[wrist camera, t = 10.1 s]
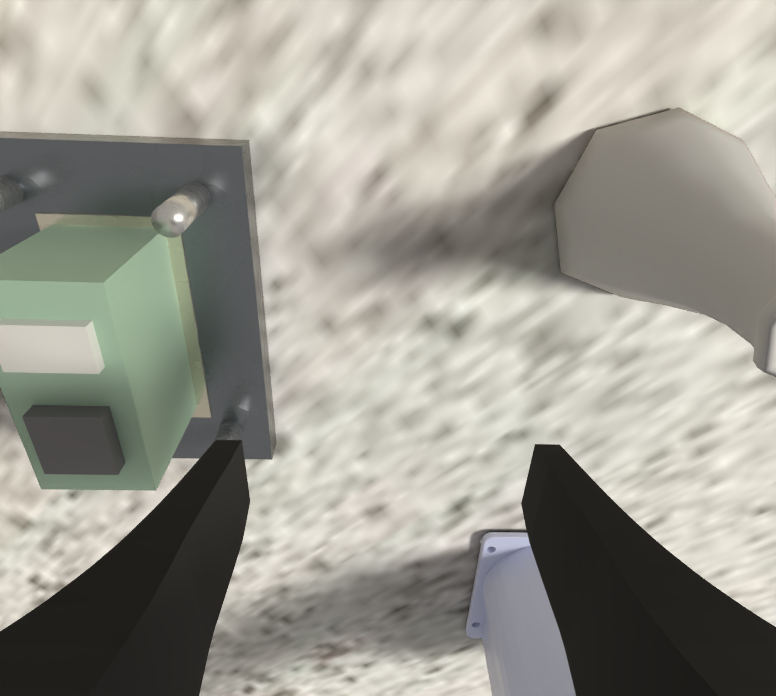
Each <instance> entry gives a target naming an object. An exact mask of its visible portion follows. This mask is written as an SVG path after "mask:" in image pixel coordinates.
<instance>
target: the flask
mask: <svg viewBox="0 0 776 696" xmlns="http://www.w3.org/2000/svg"><path fill="white" fill-rule="evenodd" d="M554 208H555V218H556V228H557V238H558V248H559V258H560V268H561V273H563V274H566V275H568V276H571V277H573V278H576V279H578V280H581V281H583V282H586V283H588V284H591V285H593V286H596V287H598V288H600V289H603V290H605V291H608V292H610V293H613V294H615V295H618V296H621V297H625V298H629V299H634V300H639V301H645V302H651V303H656V304H662V305H667V306H671V307H675V308H679V309H683V310H687V311H691V312H695V313H700V314H704V315H707V316H709V317H711V318H713V319H715V320H717V321H719V322H722V323H724V324H726V325H727V326H728V327H730V328H731V329H732V330H733V331H735V332H736V333H737V334H739V335H740V336H741V337H742V338H744V339H745V340H746V341H748V342H749V343H750V344H751V345H752V346H753V347H754V356H753V361H754V363H755V364H756V366H757V367H758V368H759V369H760V370H762V371H763V372H765V373H768V374H770V375H773V376H775V377H776V195H775V194H774V192H773V191H772V189H771V188H770V186H769V185H768V183H767V181H766V179H765V177H764V176H763V174H762V172H761V170H760V168H759V166H758V164H757V163H756V161H755V159H754V157H753V155H752V153H751V151H750V150H749V148H748V147H747V145H746V144H745V142H744V141H743V140H742V139H740V138H738V137H736V136H734V135H732V134H730V133H728V132H726V131H724V130H722V129H720V128H718V127H716V126H714V125H712V124H710V123H708V122H706V121H705V120H703V119H701V118H699V117H697V116H695V115H693V114H691V113H689V112H687V111H685V110H683V109H681V108H675V109H672V110H668V111H664V112H661V113H657V114H653V115H649V116H646V117H642V118H638V119H635V120H631V121H627V122H624V123H620V124H616V125H613V126H609V127H605V128H601V129H598V130H596V131H595V133H594V135H593V136H592V138H591V140H590V142H589V144H588V145H587V147H586V149H585V151H584V152H583V154H582V156H581V158H580V160H579V161H578V163H577V165H576V167H575V168H574V170H573V172H572V174H571V176H570V177H569V179H568V181H567V183H566V184H565V186H564V188H563V190H562V192H561V193H560V195H559V197H558V199H557V200H556V202H555V204H554Z"/></svg>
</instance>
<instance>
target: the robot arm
mask: <svg viewBox="0 0 776 696" xmlns="http://www.w3.org/2000/svg"><path fill="white" fill-rule="evenodd" d="M249 504H250V497H249V490H248V482H247V475H246V467H245V459H244V452H243V444H242V440H216V441H215V442H214V443H212V445H211V446H210V447H209V448H208V449H207V451H206V452H205V453H204V454H203V455H202V456H201V458H200V459H199V460H198V461H197V462H196V464H195V465H194V466H193V467H192V468H191V469H190V470H189V472H188V473H187V474H186V475H185V476H184V477H183V478H182V480H181V481H180V482H179V483H178V484H177V485H176V486H175V487H174V488H173V489H172V490H171V492H170V493H169V494H168V495H167V496H166V497H165V498H164V499H163V500H162V501H161V502H160V503H159V504H158V505H157V506H156V507H155V509H154V510H152V511H151V512H150V513H149V514H148V515H147V516H146V517H145V518H144V519H143V520H142V521H141V522H140V523H139V524H138V525H137V526H136V527H135V528H134V529H133V530H132V531H131V532H130V533H129V534H128V535H127V536H126V537H125V538H124V539H122V540H121V541H120V542H119V543H118V544H117V545H116V546H115V547H114V548H112V549H111V550H110V551H109V552H108V553H107V554H105V555H104V556H103V557H102V558H101V559H100V560H98V561H97V562H96V563H95V564H94V565H92V566H91V567H90V568H89V569H87V570H86V571H85V572H84V573H82V574H81V575H80V576H79V577H77V578H76V579H75V580H73V581H72V582H71V583H69V584H68V585H67V586H65V587H64V588H63V589H61V590H60V591H59V592H57V593H56V594H55V595H53V596H52V597H51V598H49V599H48V600H47V601H45V602H44V603H42V604H41V605H40V606H38V607H37V608H35V609H34V610H32V611H31V612H29V613H28V614H26V615H25V616H23V617H22V618H20V619H19V620H17V621H16V622H14V623H13V624H11V625H10V626H8V627H7V628H5V629H3V630H2V631H0V696H199V693H200V688H201V684H202V679H203V675H204V670H205V665H206V661H207V656H208V652H209V648H210V644H211V640H212V637H213V633H214V629H215V626H216V623H217V620H218V617H219V614H220V610H221V607H222V604H223V601H224V598H225V595H226V592H227V588H228V585H229V582H230V579H231V576H232V573H233V570H234V566H235V563H236V560H237V557H238V554H239V550H240V547H241V544H242V540H243V536H244V531H245V526H246V520H247V515H248V509H249ZM521 504H522V509H523V514H524V519H525V524H526V529H527V533H525V532H490V533H487V534H485V535H484V536H483V538H482V543H481V548H480V554H479V559H478V564H477V570H476V575H475V581H474V586H473V591H472V597H471V602H470V607H469V613H468V618H467V623H466V635H467V637H469V638H473V639H482V640H483V646H484V651H485V657H486V663H487V668H488V674H489V679H490V685H491V690H492V696H776V627H775V626H773V625H772V624H770V623H768V622H767V621H765V620H763V619H762V618H760V617H759V616H757V615H756V614H754V613H753V612H751V611H750V610H748V609H746V608H745V607H743V606H742V605H740V604H739V603H738V602H736V601H735V600H733V599H732V598H730V597H729V596H727V595H726V594H725V593H723V592H722V591H720V590H719V589H717V588H716V587H714V586H713V585H712V584H710V583H709V582H708V581H706V580H705V579H703V578H702V577H701V576H699V575H698V574H697V573H695V572H694V571H693V570H692V569H690V568H689V567H688V566H687V565H685V564H684V563H683V562H681V561H680V560H679V559H678V558H676V557H675V556H674V555H673V554H671V553H670V552H669V551H668V550H666V549H665V548H664V547H663V546H662V545H661V544H659V543H658V542H657V541H656V540H655V539H654V538H652V537H651V536H650V535H649V534H648V533H647V532H646V531H645V530H644V529H642V528H641V527H640V526H639V525H638V524H637V523H636V522H635V521H634V520H633V519H631V518H630V517H629V516H628V515H627V514H626V513H625V512H624V511H623V510H622V509H621V508H620V507H619V506H618V505H617V504H616V503H615V502H614V501H613V500H612V499H611V498H610V497H609V496H608V495H607V494H606V493H605V492H604V491H603V490H602V489H601V488H600V487H599V486H598V485H597V484H596V483H595V482H594V481H593V480H592V479H591V478H590V476H589V475H588V474H587V473H586V472H585V471H584V470H583V469H582V468H581V467H580V466H579V465H578V464H577V463H576V462H575V461H574V459H573V458H572V457H571V456H570V455H569V454H568V453H567V452H566V451H565V450H564V449H563V448H562V447H561V446H560V445H545V444H535V447H534V451H533V456H532V460H531V464H530V469H529V473H528V477H527V482H526V486H525V490H524V495H523V499H522V503H521Z"/></svg>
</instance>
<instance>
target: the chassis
mask: <svg viewBox="0 0 776 696" xmlns="http://www.w3.org/2000/svg"><path fill="white" fill-rule="evenodd" d="M50 225H84V226H119V227H153V228H154V229H155V230H156V231H157V232H158V233H159V234H160V235H162V236H164V237H167V243H168V248H169V254H170V259H171V265H172V270H173V276H174V281H175V287H176V292H177V298H178V304H179V309H180V315H181V320H182V326H183V331H184V337H185V342H186V348H187V354H188V359H189V365H190V370H191V376H192V381H193V387H194V392H195V398H196V403H197V407H196V409H195V411H194V413H193V416H192V418H191V420H190V422H189V424H188V426H187V428H186V430H185V432H184V434H183V436H182V438H181V440H180V442H179V444H178V446H177V448H176V451H175V453H174V455H173V457H172V458H201V456H202V455H203V454H204V453H205V452H206V451H207V449H208V448H209V447H210V446H211V445H212V443H214V442H215V441H216V440H242V444H243V452H244V459H272V458H273V454H274V450H275V446H276V434H275V423H274V412H273V401H272V390H271V379H270V368H269V357H268V346H267V335H266V324H265V313H264V302H263V291H262V280H261V269H260V258H259V247H258V236H257V225H256V214H255V203H254V192H253V181H252V170H251V159H250V148H249V140H225V139H196V138H168V137H139V136H111V135H83V134H54V133H26V132H0V254H1V253H3V252H5V251H6V250H8V249H10V248H12V247H13V246H15V245H17V244H19V243H20V242H22V241H24V240H26V239H27V238H29V237H31V236H33V235H34V234H36V233H38V232H40V231H41V230H43V229H45V228H47V227H48V226H50Z"/></svg>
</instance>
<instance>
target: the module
mask: <svg viewBox="0 0 776 696" xmlns="http://www.w3.org/2000/svg"><path fill="white" fill-rule="evenodd" d="M0 388H1V391H2V393H3V395H4V398H5V400H6V403H7V405H8V408H9V410H10V413H11V415H12V418H13V420H14V423H15V425H16V428H17V430H18V433H19V435H20V438H21V440H22V442H23V445H24V447H25V450H26V452H27V455H28V457H29V460H30V462H31V465H32V467H33V470H34V472H35V475H36V477H37V480H38V482H39V485H40V487H41V489H77V490H157V488H158V486H159V483H160V481H161V479H162V477H163V475H164V473H165V471H166V469H167V467H168V465H169V463H170V461H171V459H172V457H173V455H174V453H175V451H176V448H177V446H178V444H179V442H180V440H181V438H182V436H183V434H184V432H185V430H186V428H187V426H188V424H189V422H190V420H191V418H192V416H193V413H194V411H195V409H196V407H197V403H196V398H195V392H194V387H193V381H192V376H191V370H190V365H189V359H188V354H187V348H186V342H185V337H184V331H183V326H182V320H181V315H180V309H179V304H178V298H177V292H176V287H175V281H174V276H173V270H172V265H171V259H170V254H169V248H168V243H167V237H164V236H162V235H160V234H159V233H158V232H157V231H156V230H155V229H154V228H153V227H119V226H84V225H50V226H48V227H47V228H45V229H43V230H41V231H40V232H38V233H36V234H34V235H33V236H31V237H29V238H27V239H26V240H24V241H22V242H20V243H19V244H17V245H15V246H13V247H12V248H10V249H8V250H6V251H5V252H3V253H1V254H0Z"/></svg>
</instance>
